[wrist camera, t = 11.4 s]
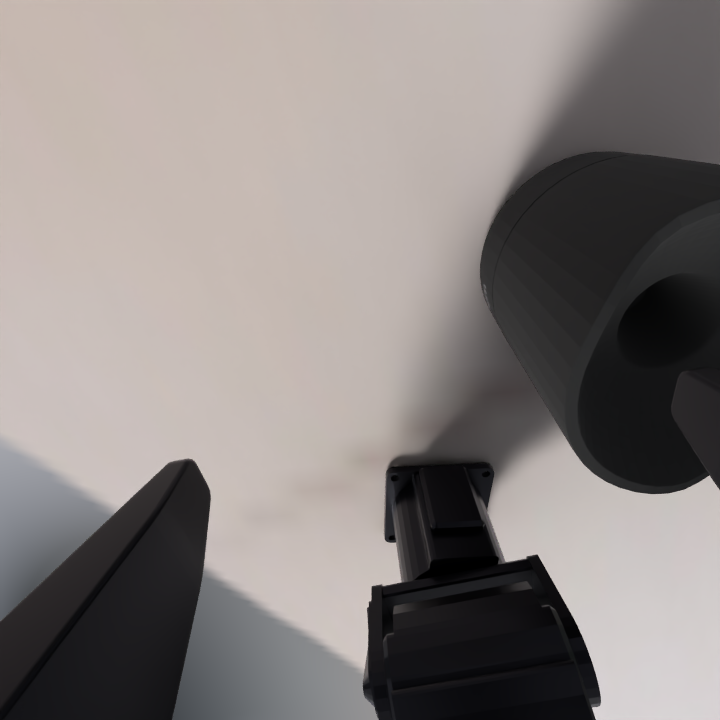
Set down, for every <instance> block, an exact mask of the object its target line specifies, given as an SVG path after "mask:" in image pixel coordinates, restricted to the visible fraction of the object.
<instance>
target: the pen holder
mask: <svg viewBox="0 0 720 720" xmlns="http://www.w3.org/2000/svg"><path fill="white" fill-rule="evenodd" d="M480 278H481V285H482V290H483V294H484V297H485V300H486V302H487V304H488V307H489V309H490V311H491V313H492V315H493V316H494V318H495V320H496V322H497V324H498V325H499V327H500V329H501V330H502V333H503V334H504V336H505V338H506V339H507V341H508V343H509V344H510V346H511V348H512V349H513V351H514V353H515V354H516V356H517V358H518V359H519V361H520V363H521V364H522V366H523V368H524V369H525V371H526V373H527V374H528V376H529V378H530V379H531V381H532V383H533V384H534V386H535V388H536V389H537V391H538V393H539V394H540V396H541V397H542V399H543V401H544V402H545V404H546V406H547V407H548V409H549V411H550V412H551V414H552V416H553V417H554V419H555V421H556V422H557V424H558V426H559V427H560V429H561V431H562V432H563V434H564V436H565V437H566V439H567V441H568V442H569V444H570V446H571V447H572V449H573V450H574V452H575V453H576V455H577V456H578V457H579V459H580V460H581V461H582V463H583V464H584V465H585V466H586V467H587V468H588V469H589V470H590V471H592V472H593V473H594V474H595V475H597V476H598V477H600V478H601V479H603V480H604V481H606V482H608V483H611V484H613V485H615V486H617V487H620V488H623V489H626V490H630V491H634V492H639V493H647V494H665V493H672V492H676V491H680V490H684V489H686V488H688V487H690V486H692V485H694V484H696V483H698V482H700V481H701V480H703V479H704V478H706V477H707V476H709V473H708V472H707V470H706V469H705V467H704V465H703V464H702V462H701V461H700V459H699V458H698V456H697V455H696V453H695V452H694V450H693V448H692V447H691V445H690V444H689V442H688V441H687V439H686V438H685V436H684V435H683V433H682V431H681V430H680V428H679V427H678V425H677V424H676V422H675V420H674V419H673V416H672V412H671V404H672V400H673V396H674V392H675V387H676V383H677V379H678V376H679V375H680V373H681V372H683V371H685V370H688V369H694V368H700V367H711V368H715V369H718V370H720V165H717V164H710V163H703V162H695V161H688V160H680V159H673V158H666V157H658V156H651V155H639V154H630V153H621V152H593V153H587V154H581V155H577V156H574V157H570V158H567V159H564V160H562V161H560V162H558V163H555V164H553V165H551V166H549V167H548V168H546V169H544V170H543V171H541V172H539V173H538V174H536V175H535V176H534V177H532V178H531V179H530V180H528V181H527V182H526V183H525V184H524V185H523V186H522V187H520V188H519V189H518V190H517V191H516V192H515V193H514V194H513V195H512V197H511V198H510V199H509V200H508V201H507V202H506V204H505V205H504V206H503V208H502V209H501V211H500V212H499V214H498V215H497V217H496V219H495V220H494V222H493V224H492V226H491V228H490V230H489V233H488V235H487V238H486V240H485V244H484V248H483V251H482V257H481V264H480Z"/></svg>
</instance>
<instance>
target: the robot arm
mask: <svg viewBox="0 0 720 720" xmlns="http://www.w3.org/2000/svg"><path fill="white" fill-rule="evenodd" d="M671 412H672V416H673V419H674V420H675V422H676V424H677V425H678V427H679V428H680V430H681V431H682V433H683V435H684V436H685V438H686V439H687V441H688V442H689V444H690V445H691V447H692V448H693V450H694V452H695V453H696V455H697V456H698V458H699V459H700V461H701V462H702V464H703V465H704V467H705V469H706V470H707V472H708V473H709V475H710V476H711V478H712V479H713V481H714V482H715V484H716V485H717V487H718V488H719V490H720V370H718V369H715V368H711V367H700V368H694V369H688V370H685V371H683V372H681V373H680V375H679V376H678V379H677V383H676V387H675V392H674V396H673V400H672V404H671ZM485 471H486V472H485ZM394 475H397V476H394ZM493 478H494V470H493V468H492V466H491V465H490V464H487V463H482V464H460V465H437V466H414V467H394V468H390V469H388V470H387V472H386V486H385V519H384V536H385V540H386V541H387V542H390V543H395V542H396V545H397V552H398V559H399V566H400V574H401V581H402V583H397V584H391V585H386V586H382V584H381V585H376V586H372V601H370V602H369V607H368V608H367V613H368V629H369V633H368V652H367V658H366V665H365V672H364V679H363V691H364V696H365V698H366V699H367V700H368V701H369V702H370V703H371V704H372V705H373V706H374V707H375V710H376V714H377V717H378V718H379V720H596V719H595V716H594V713H593V710H592V707H598V706H600V704H601V696H600V690H599V685H598V681H597V677H596V674H595V671H594V667H593V664H592V661H591V658H590V656H589V653H588V650H587V647H586V645H585V642H584V640H583V637H582V635H581V633H580V631H579V629H578V626H577V624H576V622H575V620H574V618H573V617H572V615H571V613H570V611H569V609H568V608H567V606H566V604H565V602H564V601H563V599H562V597H561V595H560V594H559V592H558V590H557V588H556V587H555V585H554V583H553V581H552V579H551V578H550V576H549V574H548V572H547V571H546V569H545V567H544V565H543V564H542V562H541V560H540V558H539V556H538V555H532V556H527V559H522V560H516V561H511V562H505V559H504V556H503V554H502V551H501V548H500V546H499V543H498V540H497V537H496V535H495V532H494V529H493V526H492V524H491V521H490V518H489V515H488V513H487V507H488V502H489V497H490V492H491V488H492V483H493ZM210 501H211V495H210V490H209V487H208V485H207V483H206V481H205V479H204V477H203V475H202V474H201V472H200V470H199V468H198V466H197V464H196V463H195V461H193V460H192V459H183V460H178V461H173V462H170V463H168V464H167V465H166V466H165V467H164V468H163V469H162V470H161V471H160V472H158V473H157V474H156V475H155V476H154V477H153V478H152V479H151V480H150V481H149V482H148V483H147V484H146V485H145V486H144V487H143V488H141V489H140V490H139V491H138V492H137V493H136V494H135V495H134V496H133V497H132V498H131V499H130V500H129V501H128V502H127V503H126V504H124V505H123V506H122V507H121V508H120V509H119V510H118V511H117V512H116V513H115V514H114V515H113V516H112V517H111V518H110V519H109V520H107V521H106V522H105V523H104V524H103V525H102V526H101V527H100V528H99V529H98V530H97V531H96V532H95V533H94V534H93V535H91V537H89V538H88V539H87V540H86V541H85V542H84V543H83V544H82V545H81V546H80V547H79V548H78V549H77V550H76V551H74V552H73V553H72V554H71V555H70V556H69V557H68V558H67V559H66V560H65V561H64V562H63V563H62V564H61V565H60V566H59V567H58V568H56V569H55V570H54V571H53V572H52V573H51V574H50V575H49V576H48V577H47V578H46V579H45V580H44V581H43V582H41V583H40V584H39V585H38V586H37V587H36V588H35V589H34V590H33V591H32V592H31V593H30V594H29V595H28V596H27V597H26V598H24V599H23V600H22V601H21V602H20V603H19V604H18V605H17V606H16V607H15V608H14V609H13V610H12V611H11V612H10V613H9V614H7V615H6V617H4V618H3V619H2V620H1V621H0V720H172V718H173V713H174V708H175V704H176V699H177V694H178V690H179V685H180V681H181V676H182V671H183V667H184V661H185V657H186V653H187V648H188V643H189V638H190V634H191V629H192V624H193V620H194V615H195V610H196V606H197V601H198V596H199V592H200V587H201V581H202V576H203V568H204V559H205V550H206V540H207V530H208V521H209V511H210Z"/></svg>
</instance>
